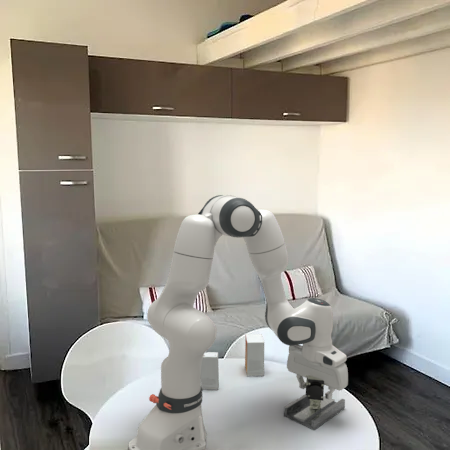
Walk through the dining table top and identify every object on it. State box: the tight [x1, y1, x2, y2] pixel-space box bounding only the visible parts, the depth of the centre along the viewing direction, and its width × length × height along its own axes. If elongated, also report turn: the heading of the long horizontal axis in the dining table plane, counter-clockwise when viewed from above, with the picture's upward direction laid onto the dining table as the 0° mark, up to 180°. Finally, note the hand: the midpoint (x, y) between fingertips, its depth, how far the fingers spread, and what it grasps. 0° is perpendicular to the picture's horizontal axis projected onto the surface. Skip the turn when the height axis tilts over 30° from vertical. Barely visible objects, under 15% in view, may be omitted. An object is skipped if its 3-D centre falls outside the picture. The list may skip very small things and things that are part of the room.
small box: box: [244, 333, 265, 378], centre depth 185 cm, size 8×6×13 cm
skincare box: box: [201, 351, 220, 391], centre depth 173 cm, size 6×4×12 cm
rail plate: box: [283, 393, 346, 431], centre depth 158 cm, size 17×11×3 cm, turn 136°
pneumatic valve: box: [305, 375, 325, 410], centre depth 158 cm, size 6×12×12 cm, turn 168°
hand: (315, 393), depth 157 cm, fingers open, 8 cm apart
